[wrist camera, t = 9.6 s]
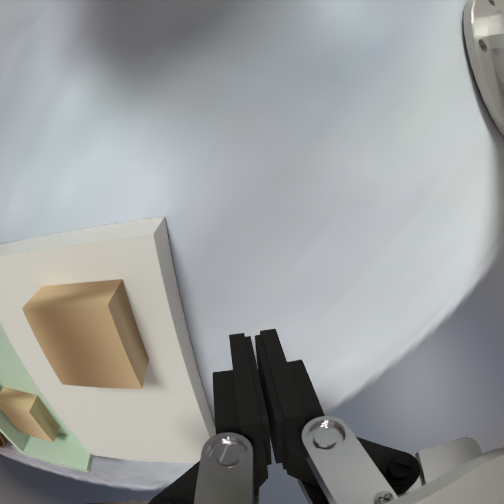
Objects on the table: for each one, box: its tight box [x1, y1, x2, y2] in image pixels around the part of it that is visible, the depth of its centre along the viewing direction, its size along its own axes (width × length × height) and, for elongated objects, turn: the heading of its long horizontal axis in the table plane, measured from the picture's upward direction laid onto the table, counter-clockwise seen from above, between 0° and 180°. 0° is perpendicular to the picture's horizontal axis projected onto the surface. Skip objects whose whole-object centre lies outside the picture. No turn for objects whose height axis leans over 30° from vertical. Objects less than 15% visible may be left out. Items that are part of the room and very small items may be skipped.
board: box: [0, 216, 216, 463], centre depth 15 cm, size 11×18×2 cm, turn 4°
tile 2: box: [0, 386, 60, 443], centre depth 16 cm, size 4×4×2 cm
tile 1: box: [22, 279, 149, 389], centre depth 11 cm, size 4×4×2 cm
